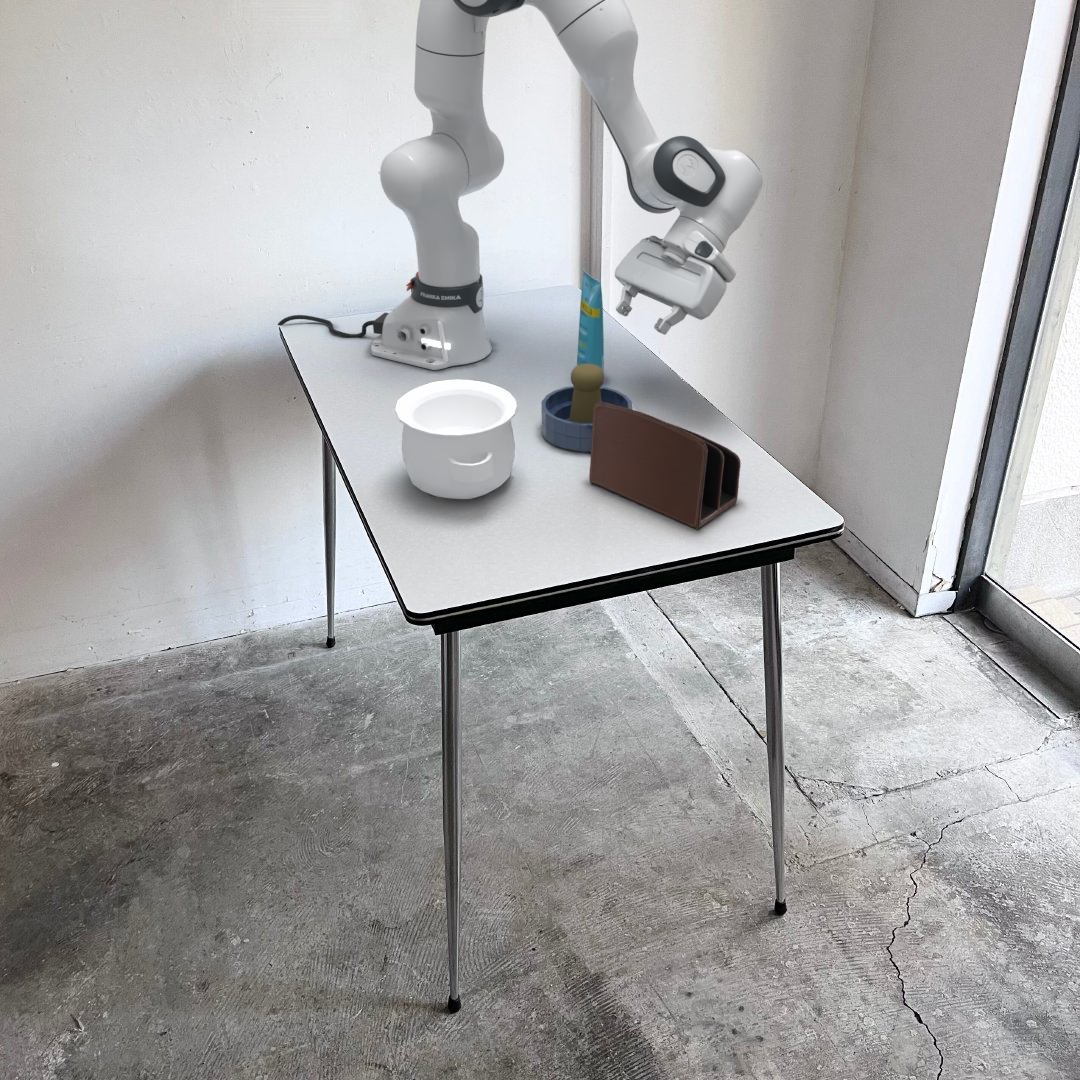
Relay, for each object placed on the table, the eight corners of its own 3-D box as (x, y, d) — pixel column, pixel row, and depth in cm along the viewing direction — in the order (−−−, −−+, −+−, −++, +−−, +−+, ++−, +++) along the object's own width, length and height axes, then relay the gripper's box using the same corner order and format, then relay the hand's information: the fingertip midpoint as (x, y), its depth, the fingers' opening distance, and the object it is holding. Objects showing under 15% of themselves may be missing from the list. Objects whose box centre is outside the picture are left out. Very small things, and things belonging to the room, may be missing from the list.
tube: (568, 375, 194) (569, 270, 183) (592, 370, 196) (594, 266, 185) (588, 391, 188) (590, 284, 178) (612, 386, 190) (616, 279, 180)
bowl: (529, 445, 172) (529, 417, 169) (557, 407, 183) (557, 380, 180) (617, 459, 168) (618, 430, 165) (640, 419, 179) (642, 391, 177)
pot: (541, 504, 157) (541, 428, 150) (425, 528, 151) (420, 450, 145) (490, 438, 174) (488, 367, 167) (385, 458, 168) (378, 386, 162)
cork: (602, 440, 172) (603, 376, 166) (564, 436, 173) (564, 373, 167) (607, 423, 177) (609, 360, 171) (571, 420, 178) (571, 357, 172)
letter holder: (697, 530, 150) (705, 440, 143) (588, 483, 162) (589, 396, 154) (738, 503, 157) (747, 414, 149) (629, 458, 168) (633, 374, 160)
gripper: (637, 222, 176) (588, 292, 176) (725, 254, 162) (671, 331, 162) (656, 244, 180) (608, 313, 181) (744, 277, 166) (692, 352, 167)
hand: (639, 322), depth 172 cm, fingers open, 8 cm apart
